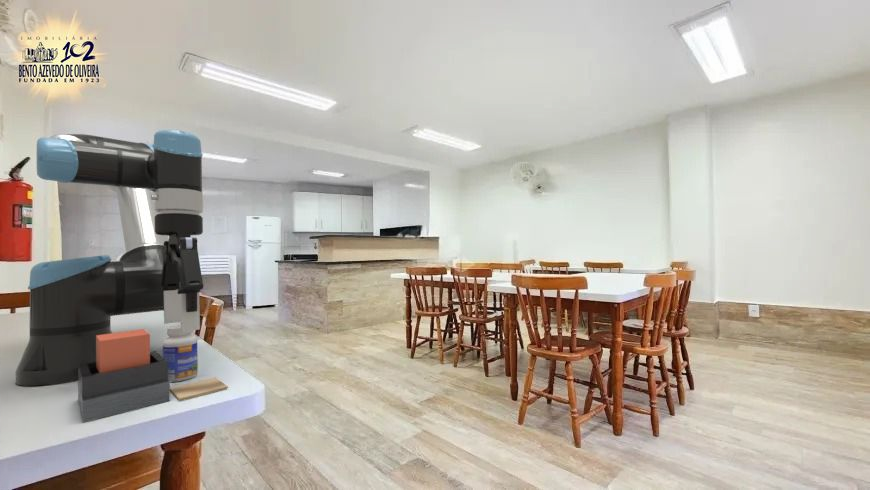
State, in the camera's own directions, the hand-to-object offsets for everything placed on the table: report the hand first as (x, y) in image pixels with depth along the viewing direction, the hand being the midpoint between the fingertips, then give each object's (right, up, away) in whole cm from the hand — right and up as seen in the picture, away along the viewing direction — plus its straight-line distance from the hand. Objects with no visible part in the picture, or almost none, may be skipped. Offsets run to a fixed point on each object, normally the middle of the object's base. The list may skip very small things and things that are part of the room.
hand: (180, 326), depth 70 cm
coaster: (+7, -9, -7) cm, 14 cm away
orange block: (-2, -4, -10) cm, 11 cm away
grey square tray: (-2, -10, -11) cm, 14 cm away
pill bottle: (0, -10, 0) cm, 10 cm away
